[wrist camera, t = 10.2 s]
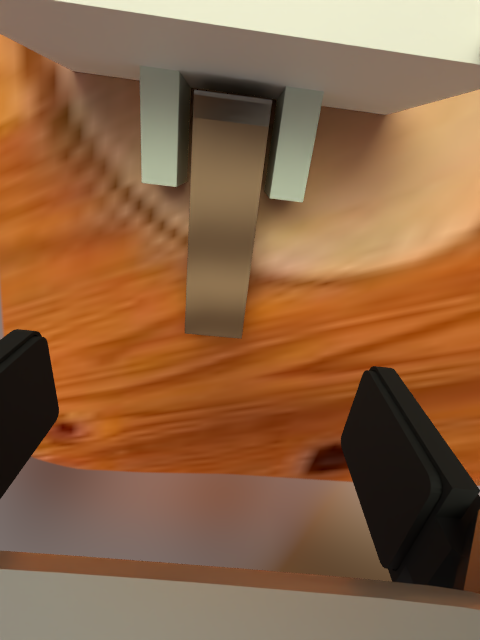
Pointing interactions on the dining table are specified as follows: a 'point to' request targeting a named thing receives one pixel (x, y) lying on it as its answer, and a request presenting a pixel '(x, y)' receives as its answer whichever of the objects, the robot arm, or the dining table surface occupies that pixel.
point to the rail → (223, 208)
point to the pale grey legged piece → (258, 62)
